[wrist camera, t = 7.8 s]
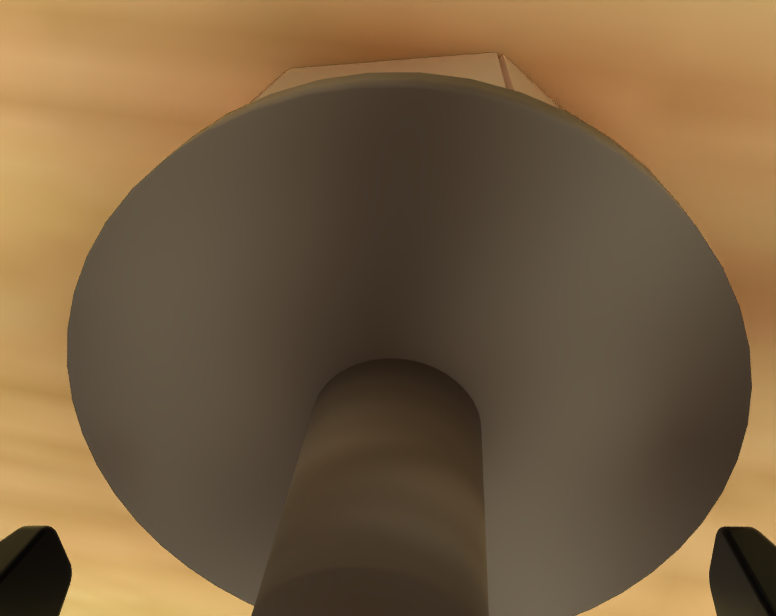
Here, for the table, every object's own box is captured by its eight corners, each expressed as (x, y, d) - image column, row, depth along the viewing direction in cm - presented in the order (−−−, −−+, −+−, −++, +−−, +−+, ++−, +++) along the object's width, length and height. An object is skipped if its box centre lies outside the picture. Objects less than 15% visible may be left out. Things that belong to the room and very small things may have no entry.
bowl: (661, 38, 13) (735, 84, 9) (622, 457, 18) (662, 589, 14) (145, 80, 14) (42, 134, 11) (240, 460, 19) (190, 583, 15)
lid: (787, 39, 9) (1086, 155, 5) (687, 605, 14) (787, 905, 10) (3, 100, 10) (-324, 233, 6) (177, 597, 16) (68, 857, 11)
